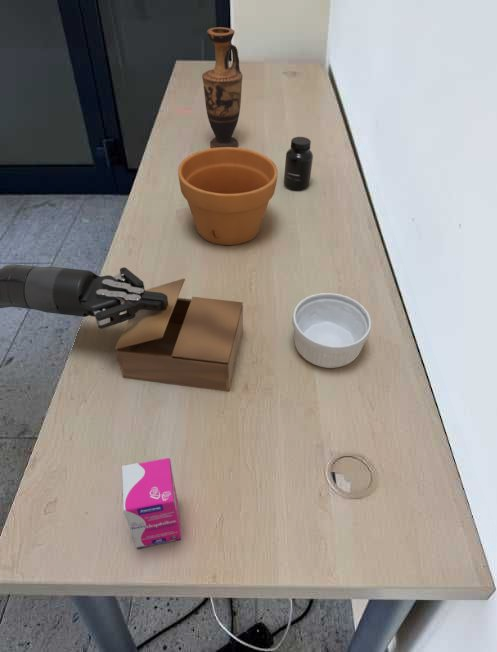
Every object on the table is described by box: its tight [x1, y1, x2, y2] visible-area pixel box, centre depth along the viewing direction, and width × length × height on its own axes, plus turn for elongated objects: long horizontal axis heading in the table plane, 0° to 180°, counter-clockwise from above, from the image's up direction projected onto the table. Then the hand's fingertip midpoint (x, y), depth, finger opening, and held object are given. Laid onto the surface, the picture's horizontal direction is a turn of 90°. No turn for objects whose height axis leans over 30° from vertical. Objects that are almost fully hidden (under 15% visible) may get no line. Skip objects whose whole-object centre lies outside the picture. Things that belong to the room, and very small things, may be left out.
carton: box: [115, 296, 244, 392], centre depth 82 cm, size 14×18×7 cm
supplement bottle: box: [283, 136, 314, 192], centre depth 123 cm, size 7×7×12 cm
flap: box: [114, 278, 186, 350], centre depth 79 cm, size 14×9×1 cm, turn 171°
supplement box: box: [121, 457, 182, 549], centre depth 59 cm, size 6×6×12 cm
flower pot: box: [177, 147, 279, 246], centre depth 108 cm, size 21×21×15 cm
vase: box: [201, 26, 243, 149], centre depth 134 cm, size 11×11×30 cm
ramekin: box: [291, 292, 372, 369], centre depth 84 cm, size 13×13×7 cm
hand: (166, 302), depth 77 cm, fingers closed
